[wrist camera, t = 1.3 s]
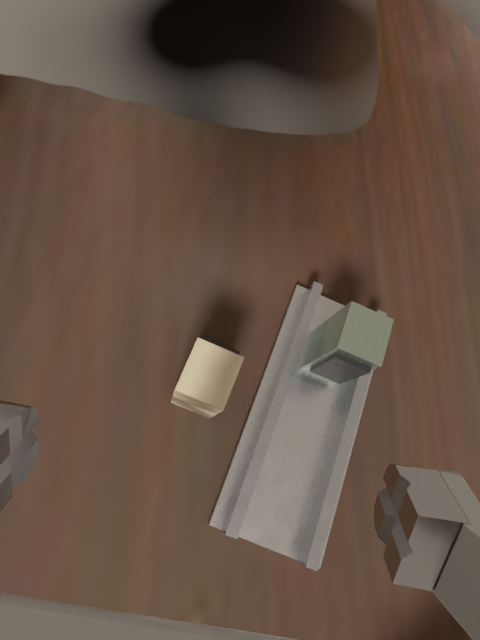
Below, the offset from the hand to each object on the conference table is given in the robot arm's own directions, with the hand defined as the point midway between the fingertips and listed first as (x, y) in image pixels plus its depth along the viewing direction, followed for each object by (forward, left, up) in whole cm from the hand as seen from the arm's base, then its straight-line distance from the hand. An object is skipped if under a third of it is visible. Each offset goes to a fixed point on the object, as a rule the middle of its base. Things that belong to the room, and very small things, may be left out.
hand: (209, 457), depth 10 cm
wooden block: (0, +7, -35) cm, 36 cm away
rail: (+12, +9, -35) cm, 39 cm away
